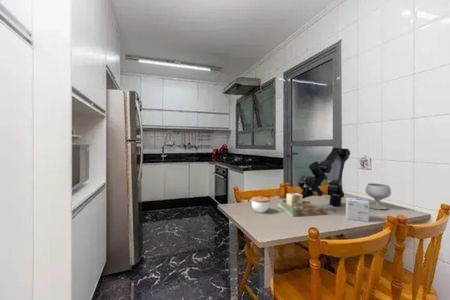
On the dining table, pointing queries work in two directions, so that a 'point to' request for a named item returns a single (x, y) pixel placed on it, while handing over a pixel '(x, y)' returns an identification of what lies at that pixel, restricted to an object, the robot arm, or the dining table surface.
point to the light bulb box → (357, 209)
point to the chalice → (378, 194)
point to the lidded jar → (260, 204)
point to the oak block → (294, 199)
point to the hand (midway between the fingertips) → (300, 198)
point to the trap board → (301, 209)
